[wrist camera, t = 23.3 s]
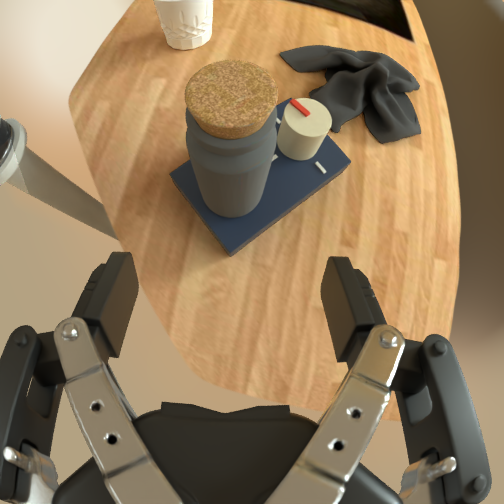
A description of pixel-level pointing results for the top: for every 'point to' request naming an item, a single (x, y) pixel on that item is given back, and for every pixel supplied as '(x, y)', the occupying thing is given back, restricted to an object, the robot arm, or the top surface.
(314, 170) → the panel
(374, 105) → the cloth
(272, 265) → the top surface
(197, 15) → the white cup
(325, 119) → the knob
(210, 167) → the bottle
